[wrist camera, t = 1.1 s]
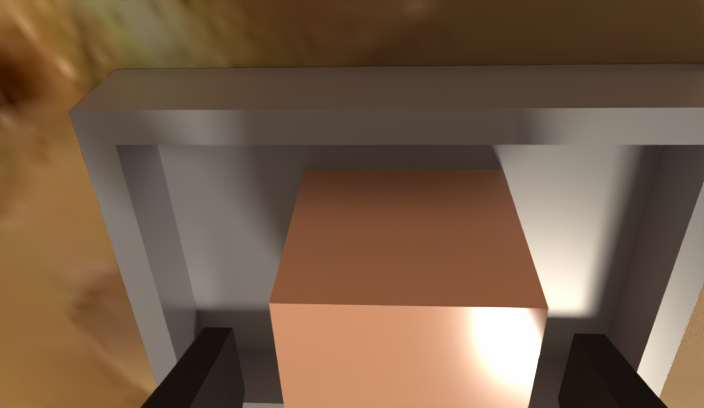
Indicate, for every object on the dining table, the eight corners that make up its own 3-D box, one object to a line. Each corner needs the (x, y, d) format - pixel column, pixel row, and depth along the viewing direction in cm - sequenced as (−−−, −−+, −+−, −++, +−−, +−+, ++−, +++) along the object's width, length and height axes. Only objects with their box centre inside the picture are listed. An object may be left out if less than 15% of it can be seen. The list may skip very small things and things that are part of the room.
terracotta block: (503, 169, 14) (549, 308, 10) (484, 316, 17) (514, 473, 13) (304, 168, 15) (269, 303, 10) (317, 313, 17) (292, 466, 13)
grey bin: (711, 63, 13) (772, 107, 11) (616, 365, 18) (644, 432, 16) (116, 69, 14) (68, 110, 12) (191, 354, 19) (167, 417, 17)
